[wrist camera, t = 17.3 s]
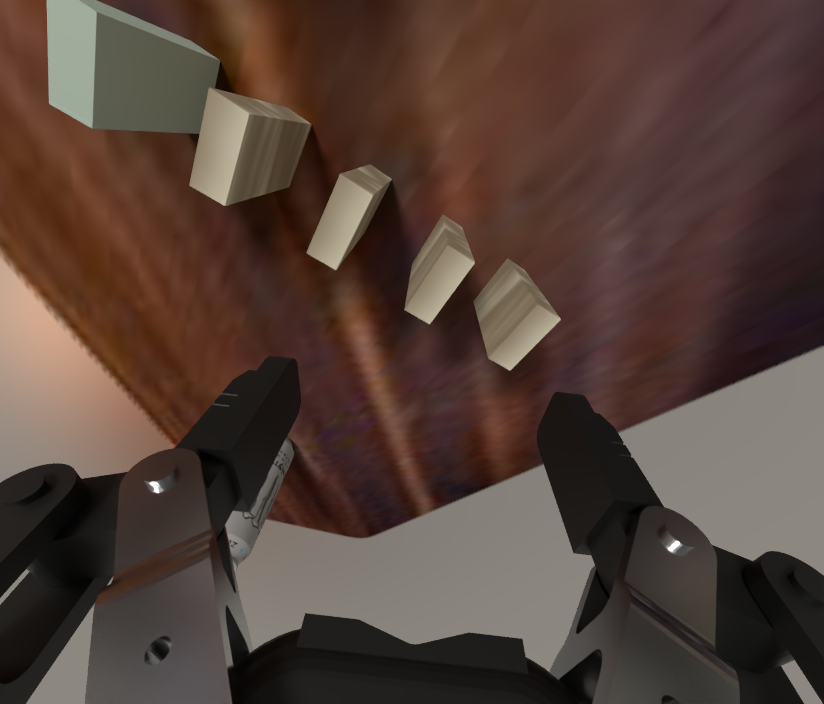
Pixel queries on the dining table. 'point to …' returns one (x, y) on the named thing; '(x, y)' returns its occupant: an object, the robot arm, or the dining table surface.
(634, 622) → the robot arm
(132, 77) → the domino
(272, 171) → the domino
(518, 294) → the domino
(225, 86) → the dining table surface
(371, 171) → the domino
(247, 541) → the energy drink can
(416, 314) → the domino
